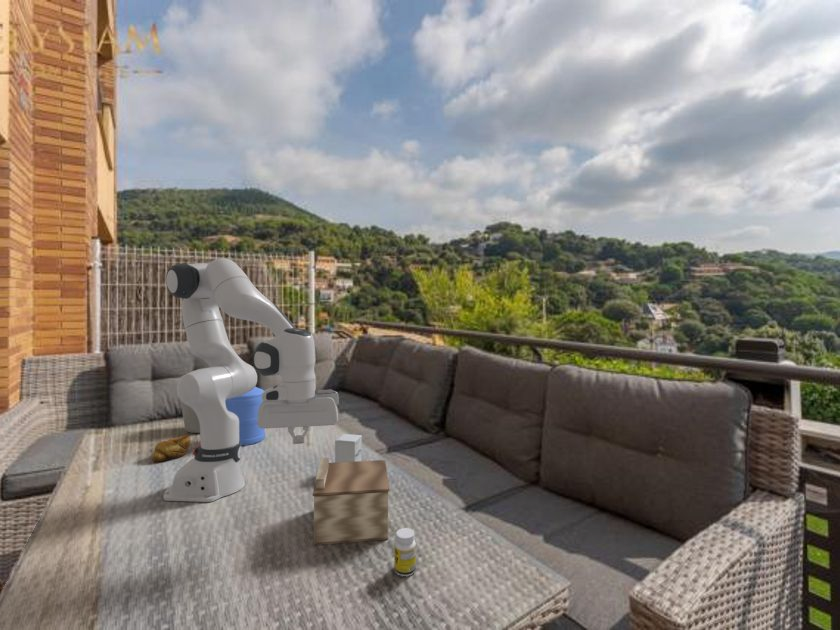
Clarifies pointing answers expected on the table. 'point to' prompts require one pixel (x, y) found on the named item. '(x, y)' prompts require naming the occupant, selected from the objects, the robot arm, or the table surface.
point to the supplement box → (348, 448)
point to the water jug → (247, 415)
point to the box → (350, 517)
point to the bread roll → (171, 448)
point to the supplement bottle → (405, 552)
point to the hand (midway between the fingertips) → (299, 442)
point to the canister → (190, 419)
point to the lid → (351, 477)
